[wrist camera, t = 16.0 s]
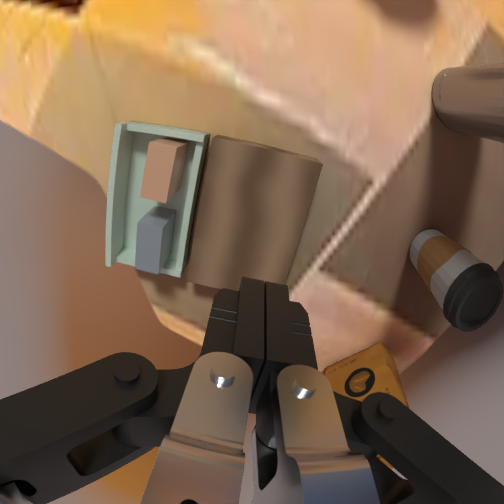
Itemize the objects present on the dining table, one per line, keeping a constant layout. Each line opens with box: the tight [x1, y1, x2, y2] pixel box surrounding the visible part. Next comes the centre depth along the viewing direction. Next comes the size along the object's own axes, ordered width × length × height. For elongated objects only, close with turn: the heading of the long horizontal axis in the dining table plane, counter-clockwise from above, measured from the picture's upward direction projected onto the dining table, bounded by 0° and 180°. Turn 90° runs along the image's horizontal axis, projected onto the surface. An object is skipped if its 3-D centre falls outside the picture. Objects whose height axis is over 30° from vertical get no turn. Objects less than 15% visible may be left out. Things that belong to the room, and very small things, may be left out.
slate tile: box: [135, 206, 177, 274], centre depth 36 cm, size 6×6×3 cm
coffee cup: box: [410, 229, 503, 331], centre depth 32 cm, size 8×8×15 cm
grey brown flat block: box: [187, 135, 323, 291], centre depth 36 cm, size 12×18×4 cm, turn 167°
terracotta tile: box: [140, 137, 190, 203], centre depth 32 cm, size 6×6×3 cm
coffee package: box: [324, 343, 409, 469], centre depth 39 cm, size 10×12×22 cm
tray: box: [106, 121, 210, 278], centre depth 35 cm, size 10×18×5 cm, turn 167°
